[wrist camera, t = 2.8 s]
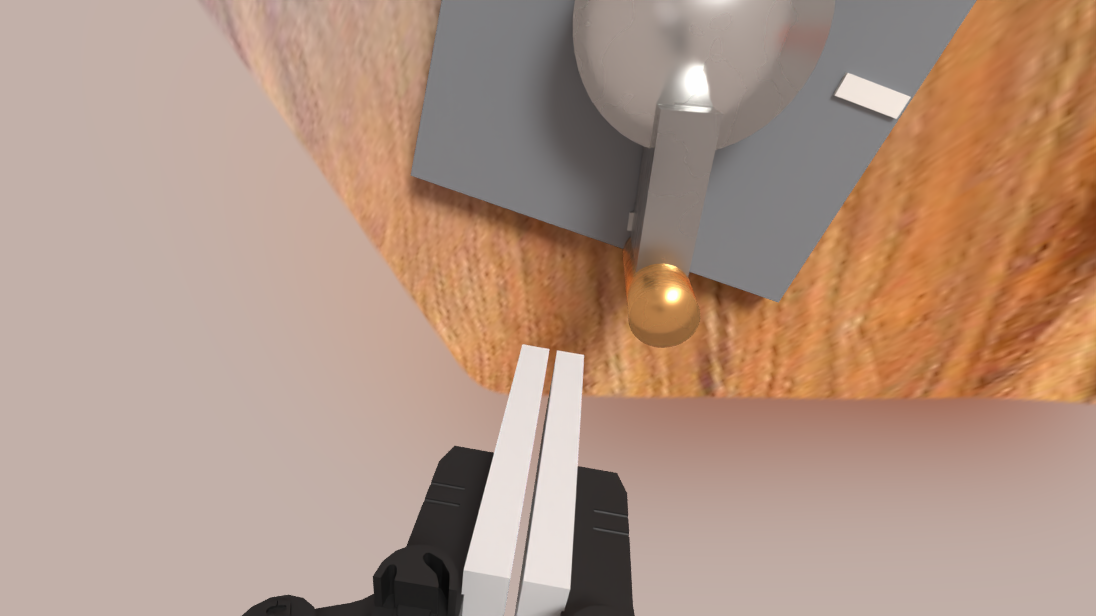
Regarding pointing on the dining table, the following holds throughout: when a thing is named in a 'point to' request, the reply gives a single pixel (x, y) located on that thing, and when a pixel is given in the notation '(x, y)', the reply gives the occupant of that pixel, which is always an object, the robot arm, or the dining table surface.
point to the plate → (614, 160)
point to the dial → (687, 118)
